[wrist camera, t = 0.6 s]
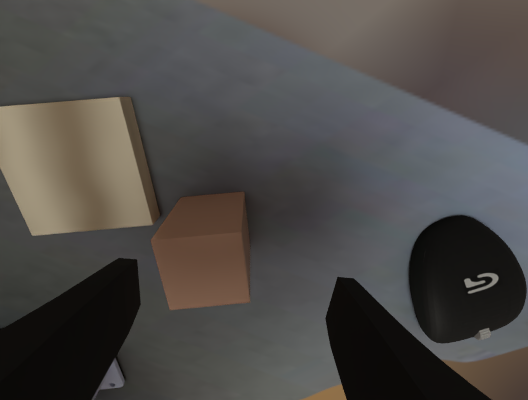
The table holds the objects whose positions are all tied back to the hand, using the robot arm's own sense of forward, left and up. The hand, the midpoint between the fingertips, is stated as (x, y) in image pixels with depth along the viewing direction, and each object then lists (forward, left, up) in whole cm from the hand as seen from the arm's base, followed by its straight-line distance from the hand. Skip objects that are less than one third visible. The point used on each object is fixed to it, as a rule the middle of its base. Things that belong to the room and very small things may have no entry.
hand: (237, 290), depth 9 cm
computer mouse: (+17, -9, -10) cm, 22 cm away
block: (-2, -2, -10) cm, 10 cm away
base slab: (-10, +3, -10) cm, 15 cm away
